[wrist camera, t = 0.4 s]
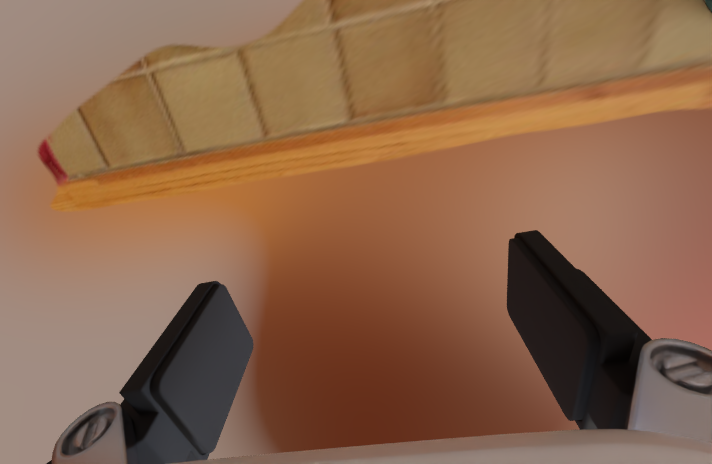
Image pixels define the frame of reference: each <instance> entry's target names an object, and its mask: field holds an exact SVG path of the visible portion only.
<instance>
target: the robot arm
mask: <svg viewBox="0 0 712 464" xmlns="http://www.w3.org/2000/svg"><path fill="white" fill-rule="evenodd" d="M507 286H508V287H507V310H508V313H509V316H510V318H511V320H512V321H513V323H514V325H515V327H516V329H517V330H518V332H519V334H520V335H521V337H522V339H523V341H524V343H525V345H526V346H527V348H528V350H529V352H530V353H531V355H532V357H533V359H534V361H535V363H536V364H537V366H538V368H539V370H540V371H541V373H542V375H543V377H544V379H545V381H546V382H547V384H548V386H549V388H550V389H551V391H552V393H553V395H554V397H555V398H556V400H557V402H558V404H559V405H560V407H561V409H562V411H563V413H564V414H565V416H566V417H567V419H568V420H570V421H573V420H575V421H576V423H577V425H578V427H579V428H580V430H562V431H548V432H531V433H517V434H501V435H488V436H476V437H463V438H451V439H439V440H426V441H414V442H402V443H390V444H379V445H367V446H355V447H344V448H332V449H320V450H310V451H297V452H286V453H275V454H264V455H253V456H242V457H231V458H221V459H210V460H207V458H208V456H209V453H211V452H212V451H213V450H214V449H215V447H216V445H217V442H218V440H219V437H220V434H221V431H222V429H223V426H224V424H225V421H226V419H227V416H228V413H229V411H230V408H231V405H232V403H233V400H234V398H235V395H236V392H237V390H238V387H239V384H240V382H241V379H242V377H243V374H244V371H245V369H246V366H247V363H248V361H249V358H250V355H251V353H252V350H253V339H252V337H251V335H250V333H249V331H248V329H247V327H246V325H245V324H244V322H243V320H242V318H241V316H240V314H239V312H238V310H237V308H236V306H235V304H234V302H233V300H232V298H231V296H230V294H229V292H228V290H227V288H226V287H225V286H224V285H222V284H220V283H219V282H217V281H213V282H207V283H201V284H199V285H197V287H196V288H195V289H194V291H193V292H192V293H191V295H190V296H189V298H188V299H187V300H186V302H185V303H184V305H183V306H182V307H181V309H180V310H179V311H178V313H177V314H176V315H175V317H174V318H173V320H172V321H171V322H170V324H169V325H168V326H167V328H166V329H165V331H164V332H163V333H162V335H161V336H160V337H159V339H158V340H157V342H156V343H155V344H154V346H153V347H152V348H151V350H150V351H149V353H148V354H147V355H146V357H145V358H144V359H143V361H142V362H141V364H140V365H139V366H138V368H137V369H136V370H135V372H134V373H133V375H132V376H131V377H130V379H129V380H128V382H127V383H126V384H125V386H124V387H123V388H122V390H121V391H120V394H121V395H122V396H123V397H124V400H123V402H122V403H121V405H120V404H118V403H116V402H106V403H103V404H99V405H97V406H95V407H93V408H91V409H89V410H88V411H86V412H85V413H84V414H82V415H81V416H79V417H78V418H77V419H76V420H75V421H74V422H73V423H71V424H70V425H69V426H68V428H67V429H66V430H65V431H64V432H63V433H62V434H61V436H60V438H59V439H58V441H57V442H56V444H55V448H54V450H53V455H52V460H51V461H50V462H48V463H47V464H712V351H711V350H709V349H707V348H705V347H702V346H700V345H697V344H694V343H691V342H687V341H683V340H678V339H667V338H661V339H656V340H652V339H651V338H650V337H649V336H647V334H645V332H644V331H643V330H641V329H640V328H639V327H638V326H637V325H636V324H635V323H634V322H633V321H632V320H631V319H630V318H629V317H628V316H627V315H626V314H625V313H624V312H623V311H622V310H621V309H620V308H619V307H618V306H617V305H616V304H615V303H614V302H613V301H612V300H611V299H610V298H609V297H608V296H607V295H606V294H605V293H604V292H603V291H602V290H601V289H600V288H599V287H598V286H597V285H596V284H595V283H594V282H593V281H592V280H591V279H590V278H589V277H588V276H587V275H586V274H585V273H584V272H582V271H581V270H579V269H576V268H575V267H574V266H573V265H572V264H571V263H570V262H569V261H567V259H566V258H565V257H564V256H563V255H562V254H561V253H560V252H559V251H558V250H557V249H556V248H554V246H553V245H552V244H551V243H550V242H549V241H548V240H547V239H546V238H545V237H544V236H543V235H542V234H541V233H540V232H538V231H537V230H535V231H528V232H522V233H517V234H516V235H515V238H514V239H510V240H509V253H508V285H507Z"/></svg>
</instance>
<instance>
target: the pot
mask: <svg viewBox="0 0 712 464" xmlns="http://www.w3.org/2000/svg"><path fill="white" fill-rule="evenodd" d="M705 2H706V5H707V6H708V8H709V9H710V11H711V12H712V0H705Z"/></svg>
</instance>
